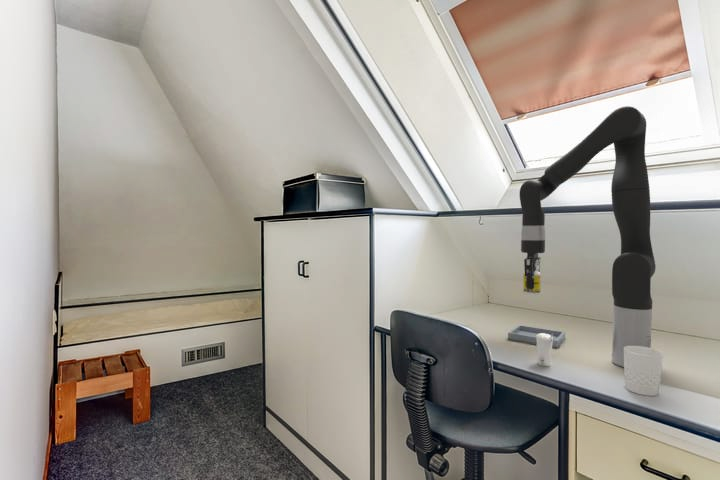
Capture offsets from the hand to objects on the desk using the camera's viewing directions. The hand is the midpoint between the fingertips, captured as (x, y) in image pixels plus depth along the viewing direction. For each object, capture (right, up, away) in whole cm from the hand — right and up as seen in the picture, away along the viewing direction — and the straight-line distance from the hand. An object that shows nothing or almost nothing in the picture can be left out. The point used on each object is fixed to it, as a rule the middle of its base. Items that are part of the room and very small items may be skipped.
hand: (532, 287), depth 134 cm
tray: (+4, -19, +5) cm, 20 cm away
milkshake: (-5, -20, -21) cm, 29 cm away
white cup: (+11, -21, -38) cm, 44 cm away
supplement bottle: (0, -2, 0) cm, 2 cm away
